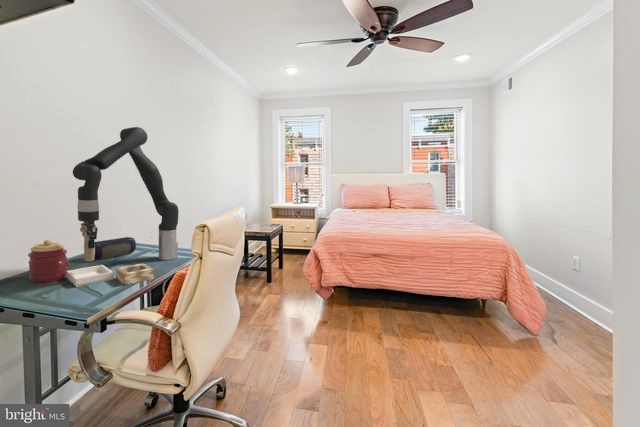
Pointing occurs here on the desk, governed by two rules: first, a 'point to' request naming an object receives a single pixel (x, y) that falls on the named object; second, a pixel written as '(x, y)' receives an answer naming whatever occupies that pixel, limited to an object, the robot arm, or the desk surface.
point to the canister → (47, 262)
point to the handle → (88, 252)
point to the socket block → (134, 273)
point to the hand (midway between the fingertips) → (89, 247)
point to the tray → (89, 275)
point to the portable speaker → (114, 247)
